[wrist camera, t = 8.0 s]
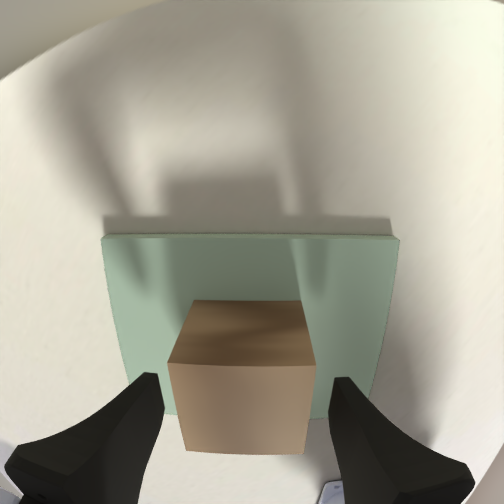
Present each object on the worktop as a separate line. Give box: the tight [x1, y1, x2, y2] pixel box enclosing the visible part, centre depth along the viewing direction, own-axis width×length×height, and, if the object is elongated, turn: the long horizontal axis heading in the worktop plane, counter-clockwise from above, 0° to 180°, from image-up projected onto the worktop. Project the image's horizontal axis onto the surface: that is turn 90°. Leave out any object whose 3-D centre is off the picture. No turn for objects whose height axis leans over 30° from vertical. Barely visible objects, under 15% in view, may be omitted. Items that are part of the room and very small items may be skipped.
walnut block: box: [167, 300, 317, 455], centre depth 13 cm, size 5×5×5 cm
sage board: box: [101, 234, 400, 419], centre depth 16 cm, size 14×11×1 cm
